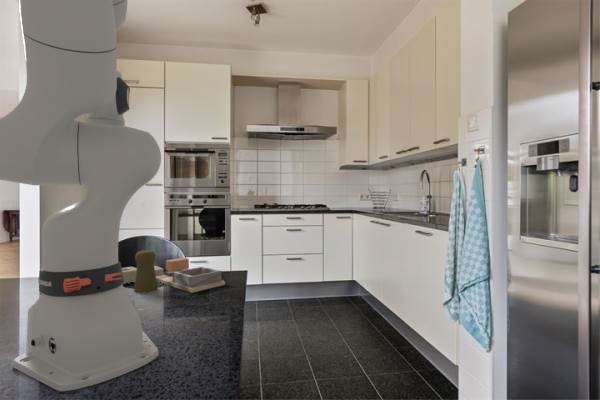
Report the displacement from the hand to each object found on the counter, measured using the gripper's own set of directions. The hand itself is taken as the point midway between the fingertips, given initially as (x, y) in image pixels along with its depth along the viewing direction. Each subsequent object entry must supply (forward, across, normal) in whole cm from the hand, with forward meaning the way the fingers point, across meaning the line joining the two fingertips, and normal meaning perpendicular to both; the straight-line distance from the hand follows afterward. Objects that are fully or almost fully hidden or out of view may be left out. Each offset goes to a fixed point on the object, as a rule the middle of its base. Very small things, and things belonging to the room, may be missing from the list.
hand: (105, 184), depth 90 cm
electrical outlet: (+31, -3, +14) cm, 34 cm away
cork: (+30, +8, +5) cm, 31 cm away
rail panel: (+29, +16, +14) cm, 36 cm away
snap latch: (+26, +11, +18) cm, 34 cm away
